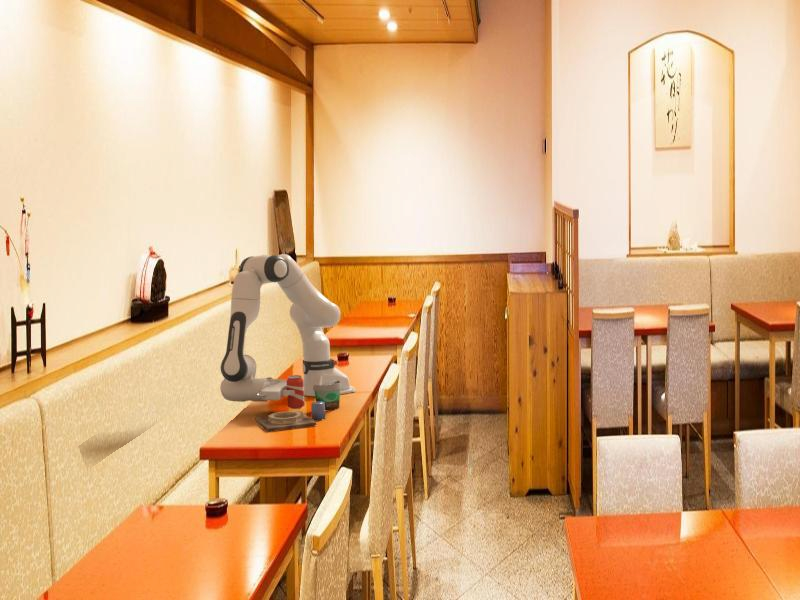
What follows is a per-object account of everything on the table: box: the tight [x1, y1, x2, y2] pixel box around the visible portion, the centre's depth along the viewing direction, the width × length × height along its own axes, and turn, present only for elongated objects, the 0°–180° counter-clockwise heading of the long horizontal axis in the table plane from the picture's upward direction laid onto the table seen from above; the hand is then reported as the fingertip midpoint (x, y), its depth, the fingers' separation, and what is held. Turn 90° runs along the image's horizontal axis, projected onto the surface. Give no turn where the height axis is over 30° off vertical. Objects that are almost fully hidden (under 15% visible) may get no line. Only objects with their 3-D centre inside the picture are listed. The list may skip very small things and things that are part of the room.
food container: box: [313, 380, 342, 411], centre depth 387 cm, size 12×6×10 cm, turn 129°
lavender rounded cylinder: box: [310, 401, 326, 421], centre depth 372 cm, size 5×5×6 cm
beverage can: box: [286, 374, 306, 410], centre depth 381 cm, size 6×6×12 cm
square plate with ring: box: [254, 410, 317, 433], centre depth 366 cm, size 18×18×3 cm
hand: (297, 389), depth 381 cm, fingers closed on beverage can, 6 cm apart
